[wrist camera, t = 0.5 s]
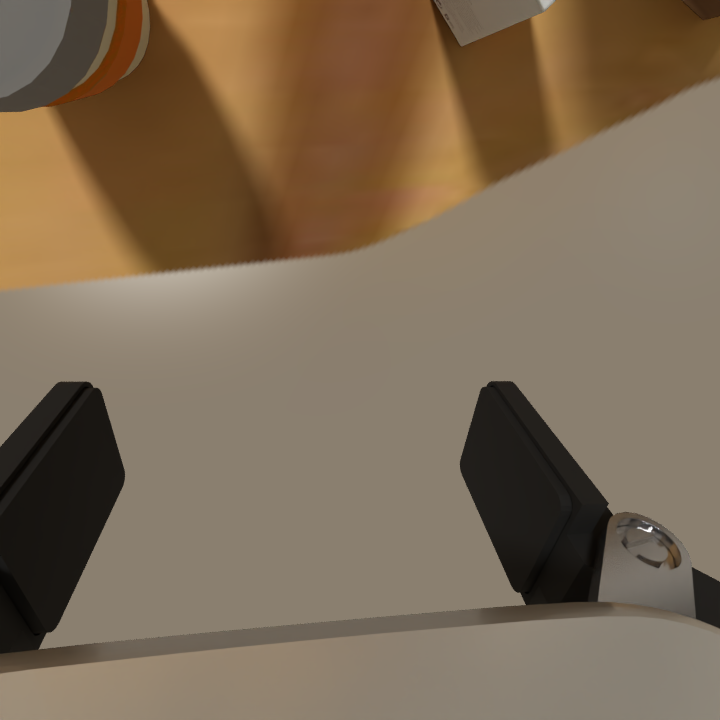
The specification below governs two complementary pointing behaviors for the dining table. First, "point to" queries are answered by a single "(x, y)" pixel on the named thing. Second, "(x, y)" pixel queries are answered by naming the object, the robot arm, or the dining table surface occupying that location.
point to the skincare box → (486, 15)
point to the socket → (704, 8)
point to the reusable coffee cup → (67, 49)
